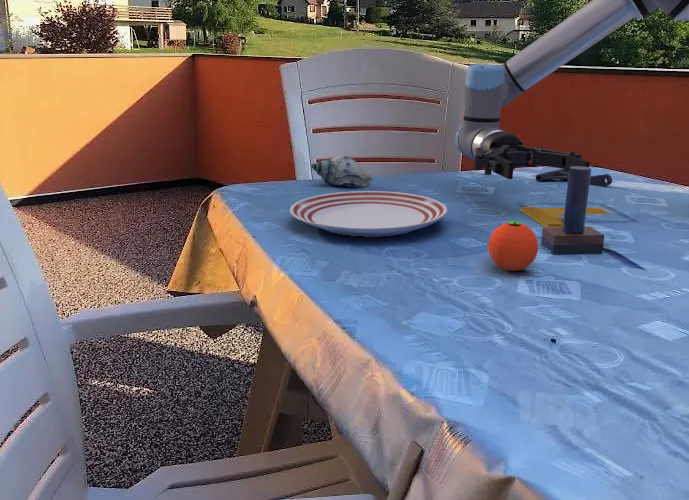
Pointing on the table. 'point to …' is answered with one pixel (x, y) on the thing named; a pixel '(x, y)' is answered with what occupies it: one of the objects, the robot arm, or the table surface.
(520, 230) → the clementine
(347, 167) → the seashell
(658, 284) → the table surface
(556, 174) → the bracket
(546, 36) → the robot arm
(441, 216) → the dinner plate
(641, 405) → the table surface
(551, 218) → the yellow carpenter square
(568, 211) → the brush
